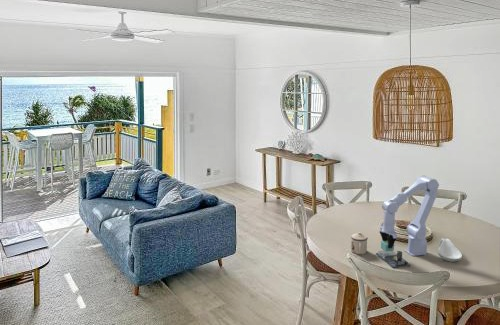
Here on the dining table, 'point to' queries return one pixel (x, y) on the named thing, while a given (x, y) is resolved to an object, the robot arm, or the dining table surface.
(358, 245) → the teacup with lid
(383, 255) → the press base
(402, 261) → the ram lever
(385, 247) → the block
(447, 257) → the spoon rest
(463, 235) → the dining table surface
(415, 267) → the dining table surface
